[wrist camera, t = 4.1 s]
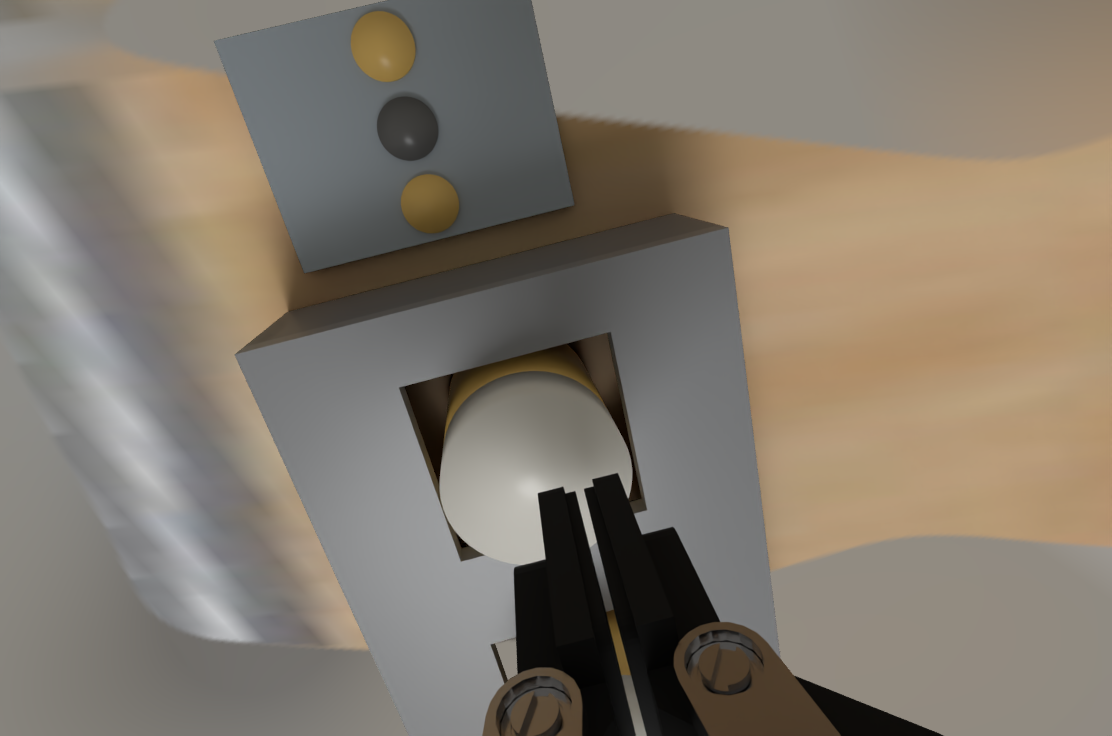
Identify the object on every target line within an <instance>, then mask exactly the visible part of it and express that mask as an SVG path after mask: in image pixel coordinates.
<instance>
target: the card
mask: <svg viewBox="0 0 1112 736" xmlns="http://www.w3.org/2000/svg"><path fill="white" fill-rule="evenodd" d="M214 43H215V46H216V48H217V51H218V53H219V55H220V58H221V61H222V64H223V66H224V69H225V71H226V74H227V76H228V79H229V81H230V84H231V87H232V89H233V92H234V94H235V97H236V99H237V102H238V105H239V107H240V110H241V112H242V115H243V117H244V120H245V122H246V125H247V128H248V130H249V133H250V135H251V138H252V140H253V143H254V146H255V148H256V151H257V153H258V156H259V158H260V161H261V163H262V166H263V169H264V171H265V174H266V176H267V179H268V181H269V184H270V187H271V189H272V192H273V194H274V197H275V199H276V202H277V204H278V207H279V210H280V212H281V215H282V217H283V220H284V222H285V225H286V228H287V230H288V233H289V235H290V238H291V240H292V243H293V245H294V248H295V251H296V253H297V256H298V258H299V261H300V263H301V266H302V269H303V271H304V273H308V272H312V271H316V270H320V269H324V268H328V267H332V266H336V265H340V264H344V263H347V262H351V261H355V260H359V259H363V258H367V257H371V256H375V255H379V254H383V253H387V252H391V251H395V250H399V249H403V248H407V247H411V246H415V245H419V244H423V243H427V242H431V241H435V240H439V239H443V238H447V237H450V236H454V235H458V234H462V233H466V232H470V231H474V230H478V229H482V228H486V227H490V226H494V225H498V224H502V223H506V222H510V221H514V220H518V219H522V218H526V217H530V216H534V215H538V214H542V213H546V212H550V211H554V210H557V209H561V208H565V207H569V206H573V205H574V200H573V195H572V190H571V186H570V181H569V176H568V171H567V167H566V162H565V157H564V153H563V148H562V143H561V138H560V134H559V129H558V124H557V120H556V115H555V110H554V105H553V101H552V96H551V92H550V87H549V82H548V77H547V72H546V68H545V63H544V58H543V53H542V49H541V44H540V39H539V34H538V30H537V25H536V21H535V16H534V11H533V6H532V1H531V0H387V1H383V2H378V3H375V4H370V5H365V6H362V7H357V8H353V9H348V10H344V11H340V12H335V13H331V14H327V15H323V16H319V17H314V18H310V19H305V20H301V21H297V22H293V23H288V24H285V25H280V26H275V27H271V28H267V29H263V30H258V31H254V32H250V33H245V34H241V35H237V36H233V37H228V38H224V39H220V40H216V41H214Z"/></svg>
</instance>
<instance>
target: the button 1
mask: <svg viewBox="0 0 1112 736" xmlns="http://www.w3.org/2000/svg"><path fill="white" fill-rule="evenodd" d="M615 473H618V474H619V477H620V479H621V482H622V484H623V487H624V490H625V492H626V495H627V497H628V498H629V495H630V491H631V485H632V464H631V458H630V455H629V451H628V448H627V446H626V444H625V442H624V439H623V437H622V436H621V434H620V432H619V430H618V428H617V426H616V424H615V422H614V421H613V419H612V417H611V415H610V413H609V411H608V409H607V408H606V406H605V404H604V402H603V400H602V398H601V396H600V394H599V393H598V391H597V389H596V387H595V385H594V383H593V381H592V379H591V378H590V376H589V374H588V372H587V370H586V368H585V366H584V365H583V363H582V361H581V360H580V358H579V357H578V355H577V354H576V353H575V352H574V351H573V349H572V348H570V347H569V346H568V345H567V344H563V345H559V346H555V347H551V348H547V349H544V350H540V351H536V352H532V353H528V354H525V355H521V356H517V357H513V358H509V359H506V360H502V361H498V362H494V363H490V364H487V365H483V366H479V367H475V368H471V369H468V370H464V371H460V372H456V373H454V374H453V377H452V380H451V384H450V390H449V399H448V408H447V417H446V426H445V435H444V444H443V453H442V462H441V471H440V487H439V489H440V498H441V502H442V506H443V510H444V512H445V515H446V517H447V519H448V521H449V523H450V524H451V526H452V527H453V529H454V530H455V532H456V533H457V534H458V535H459V536H460V537H461V539H463V540H464V541H465V542H466V543H467V544H468V545H469V546H471V547H472V548H474V549H475V550H477V551H478V552H480V553H482V554H484V555H486V556H488V557H490V558H493V559H496V560H498V561H502V562H506V563H511V564H518V565H525V564H529V563H533V562H537V561H541V560H544V559H545V550H544V542H543V534H542V526H541V518H540V510H539V502H538V493H540V492H544V491H548V490H552V489H556V488H560V487H564V490H565V493H569V492H573V491H575V492H576V495H577V499H578V503H579V507H580V511H581V515H582V519H583V523H584V527H585V531H586V535H587V539H588V543H589V546H590V547H591V546H593V545H594V544H595V543H596V542H597V541H596V537H595V533H594V529H593V525H592V521H591V517H590V513H589V508H588V504H587V500H586V496H585V492H584V489H585V488H589V487H593V482H592V479H595V478H599V477H603V476H607V475H611V474H615Z"/></svg>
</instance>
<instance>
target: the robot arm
mask: <svg viewBox="0 0 1112 736" xmlns="http://www.w3.org/2000/svg"><path fill="white" fill-rule="evenodd" d="M592 482H593V487H589V488H585V489H584V492H585V496H586V500H587V504H588V508H589V513H590V517H591V521H592V525H593V529H594V533H595V537H596V541H597V545H598V549H599V553H600V557H601V561H602V565H603V569H604V573H605V577H606V581H607V585H608V589H609V593H610V597H611V601H612V605H613V609H614V612H615V616H616V620H617V624H618V628H619V632H620V635H621V639H622V643H623V647H624V651H625V655H626V658H627V662H628V666H629V670H630V674H631V678H632V681H633V685H634V689H635V693H636V697H637V700H638V704H639V708H640V712H641V716H642V720H643V723H644V727H645V731H646V735H647V736H943V735H941V734H939V733H937V732H934V731H932V730H929V729H927V728H924V727H922V726H919V725H917V724H914V723H912V722H909V721H907V720H904V719H901V718H899V717H896V716H894V715H891V714H889V713H887V712H884V711H881V710H879V709H877V708H873V707H871V706H869V705H866V704H864V703H861V702H859V701H856V700H854V699H851V698H849V697H846V696H844V695H841V694H839V693H836V692H834V691H831V690H829V689H826V688H824V687H821V686H819V685H816V684H814V683H811V682H809V681H806V680H803V679H801V678H799V677H796V676H794V675H793V674H792V673H791V672H790V670H789V669H788V668H787V666H786V665H785V664H784V663H783V662H782V660H781V659H780V658H779V656H778V655H777V654H776V653H775V651H774V650H773V649H772V647H771V646H770V645H769V644H768V642H767V641H765V640H764V639H763V638H762V637H761V636H760V635H759V634H758V633H757V632H755V631H753V630H751V629H749V628H747V627H745V626H743V625H739V624H735V623H731V622H720V620H719V618H718V616H717V614H716V611H715V609H714V607H713V605H712V603H711V601H710V599H709V597H708V595H707V593H706V591H705V589H704V587H703V585H702V583H701V581H700V579H699V577H698V574H697V572H696V570H695V568H694V566H693V564H692V562H691V560H690V558H689V556H688V554H687V552H686V550H685V548H684V546H683V544H682V542H681V540H680V537H679V535H678V533H677V532H676V530H675V528H674V527H669V528H666V529H662V530H658V531H654V532H650V533H646V534H642V533H641V531H640V528H639V526H638V523H637V520H636V518H635V515H634V513H633V510H632V508H631V505H630V502H629V500H628V497H627V495H626V492H625V490H624V487H623V484H622V482H621V479H620V477H619V474H618V473H615V474H611V475H607V476H603V477H599V478H595V479H592ZM538 502H539V510H540V518H541V526H542V534H543V542H544V550H545V559H544V560H541V561H537V562H533V563H529V564H525V565H521V566H517V567H515V568H514V597H515V621H516V646H517V670H518V675H516V676H514V677H512V678H510V679H509V680H508V681H507V682H506V683H505V684H504V685H503V686H501V687H500V688H499V689H498V691H497V692H496V694H495V695H494V697H493V698H492V700H491V701H490V704H489V707H488V710H487V713H486V717H485V723H484V728H483V734H482V736H636V733H635V729H634V725H633V721H632V716H631V712H630V708H629V704H628V700H627V696H626V692H625V688H624V684H623V679H622V675H621V671H620V667H619V663H618V659H617V655H616V651H615V646H614V642H613V638H612V634H611V630H610V626H609V622H608V618H607V614H606V609H605V605H604V601H603V597H602V593H601V590H600V586H599V582H598V578H597V574H596V570H595V566H594V562H593V558H592V554H591V550H590V546H589V543H588V539H587V535H586V531H585V527H584V523H583V519H582V515H581V511H580V507H579V503H578V499H577V495H576V492H575V491H573V492H569V493H565V490H564V487H560V488H556V489H552V490H548V491H544V492H540V493H538Z"/></svg>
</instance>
